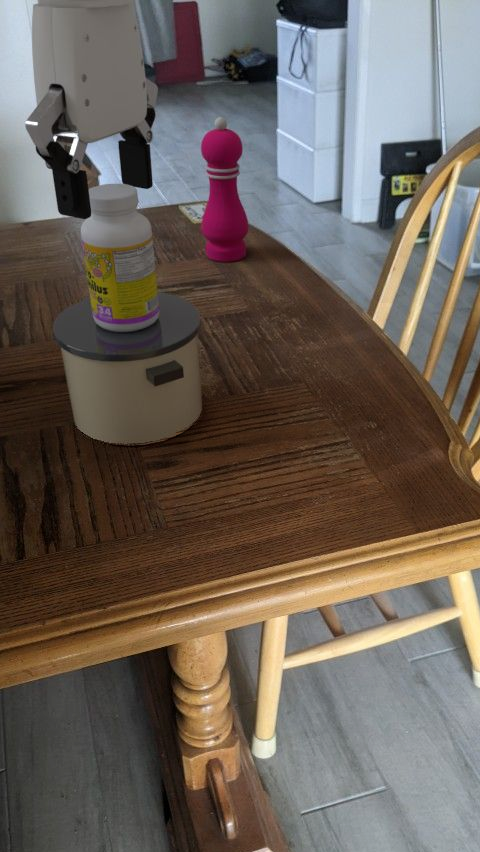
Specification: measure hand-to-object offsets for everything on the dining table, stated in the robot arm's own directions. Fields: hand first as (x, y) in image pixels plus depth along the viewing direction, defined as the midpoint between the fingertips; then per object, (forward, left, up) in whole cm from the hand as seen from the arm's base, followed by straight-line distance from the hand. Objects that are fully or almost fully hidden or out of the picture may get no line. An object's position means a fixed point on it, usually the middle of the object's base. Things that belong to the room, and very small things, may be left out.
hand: (107, 200), depth 72 cm
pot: (0, 0, -23) cm, 23 cm away
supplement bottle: (0, 0, -12) cm, 12 cm away
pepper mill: (+32, +34, -23) cm, 52 cm away
